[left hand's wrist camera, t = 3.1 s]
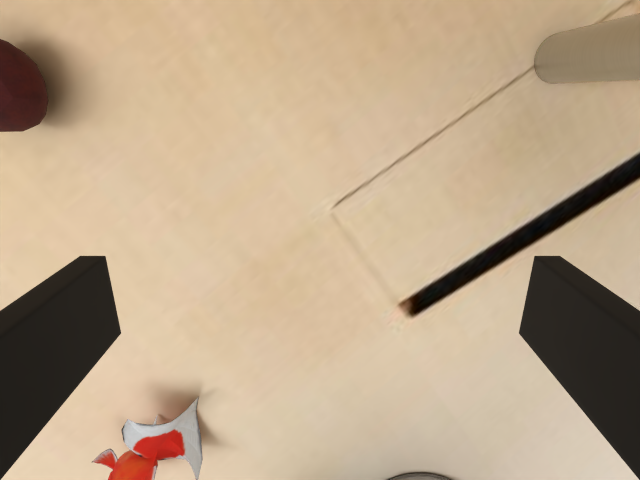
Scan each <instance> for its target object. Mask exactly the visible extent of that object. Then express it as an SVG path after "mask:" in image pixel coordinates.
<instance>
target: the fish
mask: <svg viewBox="0 0 640 480" xmlns="http://www.w3.org/2000/svg"><path fill="white" fill-rule="evenodd" d="M198 398H199V397H198ZM198 398H197V399H196V400H195V401H194V402H193V403H192V404H191V405H190V406H189V407H188V409H187V410H186V411H185V412H183V413H182V414H181V415H180V416H178V417H177V418H176V419H174V420H173V421H171V422H170V423H166V424H161V425H156V421H157V416H156V419H155V421H154V424H153V425H146V424H139V423H135V422H133V421H131V420H129V419H127V421H126V423H125V425H124V427H123V428H122V434H123V440H124V442H125V444H126V445H127V447H128V448H130V450H129V451H127V452H125V453H124V454H123V455H122V456H121V457H120V458H119V459H117V457H116V455H115V453H114V452H113V450H112V449H108V450H106V451H104V452H102V453H101V454H100V455H99V456H98V457H97V458H96V459H95V460H94V461H92V462H95V463H100V464H103V465H106V466H108V467H110V468H111V469H113V471H112V472H111V473H110V475H109V478H108V480H154V478H155V473H156V469H157V466H158V463H157V460H164V459H170V458H178V459H186V460H187V461H188V462H189V464H190V465H191V467H192V469H193V472H194V474H195V477H196V480H198V477H199V473H200V468H201V464H202V446H201V435H200V429H199V424H198V419H197V413H196V408H197V402H198Z"/></svg>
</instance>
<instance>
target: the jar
mask: <svg viewBox="0 0 640 480" xmlns="http://www.w3.org/2000/svg"><path fill="white" fill-rule="evenodd" d="M534 65H535V70H536V73H537V75H538V76H539V77H540V78H541V79H542V80H543V81H545V82H547V83H582V82H612V81H640V13H639V14H634V15H630V16H626V17H622V18H618V19H614V20H610V21H606V22H602V23H598V24H594V25H589V26H585V27H581V28H577V29H573V30H569V31H565V32H561V33H557V34H554V35H552V36H550V37H548V38H547V39H546V40H545V41H544V42H543V43H542V44H541V45H540V47H539V48H538V50H537V53H536V56H535V61H534Z"/></svg>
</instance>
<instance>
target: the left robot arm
mask: <svg viewBox="0 0 640 480" xmlns="http://www.w3.org/2000/svg"><path fill="white" fill-rule="evenodd" d="M120 334H121V330H120V326H119V321H118V316H117V311H116V306H115V301H114V296H113V291H112V286H111V281H110V277H109V272H108V267H107V262H106V257H105V256H80V257H78V258H77V259H75V260H74V261H72V262H71V263H69V264H68V265H66V266H65V267H64V268H62V269H61V270H59V271H58V272H56V273H55V274H53V275H52V276H50V277H49V278H48V279H46V280H45V281H43V282H42V283H40V284H39V285H37V286H36V287H34V288H33V289H32V290H30V291H29V292H27V293H26V294H24V295H23V296H21V297H20V298H18V299H17V300H16V301H14V302H13V303H11V304H10V305H8V306H7V307H5V308H4V309H2V310H1V311H0V480H1V478H2V477H3V476H4V475H5V474H6V472H7V471H8V470H9V469H10V468H11V466H12V465H13V464H14V463H15V461H16V460H17V459H18V458H19V457H20V455H21V454H22V453H23V452H24V451H25V449H26V448H27V447H28V446H29V444H30V443H31V442H32V441H33V440H34V438H35V437H36V436H37V435H38V434H39V432H40V431H41V430H42V429H43V427H44V426H45V425H46V424H47V423H48V421H49V420H50V419H51V418H52V416H53V415H54V414H55V413H56V412H57V410H58V409H59V408H60V407H61V406H62V404H63V403H64V402H65V401H66V399H67V398H68V397H69V396H70V395H71V393H72V392H73V391H74V390H75V389H76V387H77V386H78V385H79V384H80V382H81V381H82V380H83V379H84V378H85V376H86V375H87V374H88V373H89V372H90V370H91V369H92V368H93V367H94V365H95V364H96V363H97V362H98V361H99V359H100V358H101V357H102V356H103V355H104V353H105V352H106V351H107V350H108V348H109V347H110V346H111V345H112V344H113V342H114V341H115V340H116V339H117V337H118V336H119V335H120ZM519 334H520V335H521V336H522V337H523V339H524V340H525V341H526V342H527V344H528V345H529V346H530V347H531V348H532V350H533V351H534V352H535V353H536V355H537V356H538V357H539V358H540V359H541V361H542V362H543V363H544V364H545V365H546V367H547V368H548V369H549V370H550V372H551V373H552V374H553V375H554V376H555V378H556V379H557V380H558V381H559V382H560V384H561V385H562V386H563V387H564V389H565V390H566V391H567V392H568V393H569V395H570V396H571V397H572V398H573V399H574V401H575V402H576V403H577V404H578V406H579V407H580V408H581V409H582V410H583V412H584V413H585V414H586V415H587V416H588V418H589V419H590V420H591V421H592V423H593V424H594V425H595V426H596V427H597V429H598V430H599V431H600V432H601V434H602V435H603V436H604V437H605V438H606V440H607V441H608V442H609V443H610V444H611V446H612V447H613V448H614V449H615V451H616V452H617V453H618V454H619V455H620V457H621V458H622V459H623V460H624V461H625V463H626V464H627V465H628V466H629V468H630V469H631V470H632V471H633V472H634V474H635V475H636V476H637V477H638V478H639V480H640V311H639V310H638V309H636V308H635V307H633V306H632V305H630V304H629V303H627V302H626V301H624V300H623V299H622V298H620V297H619V296H617V295H616V294H614V293H613V292H611V291H610V290H608V289H607V288H606V287H604V286H603V285H601V284H600V283H598V282H597V281H595V280H594V279H592V278H591V277H590V276H588V275H587V274H585V273H584V272H582V271H581V270H579V269H578V268H576V267H575V266H574V265H572V264H571V263H569V262H568V261H566V260H565V259H563V258H562V257H560V256H535V257H534V262H533V267H532V272H531V277H530V281H529V286H528V291H527V296H526V301H525V306H524V311H523V316H522V321H521V326H520V330H519ZM390 480H450V479H447V478H445V477H442V476H439V475H434V474H427V473H414V474H406V475H402V476H398V477H395V478H392V479H390Z"/></svg>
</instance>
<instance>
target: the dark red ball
mask: <svg viewBox="0 0 640 480" xmlns="http://www.w3.org/2000/svg"><path fill="white" fill-rule="evenodd" d="M47 104H48V98H47V92H46V86H45V81H44V79H43V77H42V75H41V73H40V71H39V69H38V67H37V65H36V64H35V63H34V62H33V61H32V60H31V59H30V58H29V57H28V56H27V55H26V54H25V53H24V52H22V51H21V50H19V49H18V48H16V47H15V46H13V45H12V44H10V43H9V42H6V41H4V40H1V39H0V132H10V131H24V130H27V129H29V128H31V127H34V126H36V125H38V124H40V122H41V121H42V119H43V118H44V116H45V115H46V110H47Z"/></svg>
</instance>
